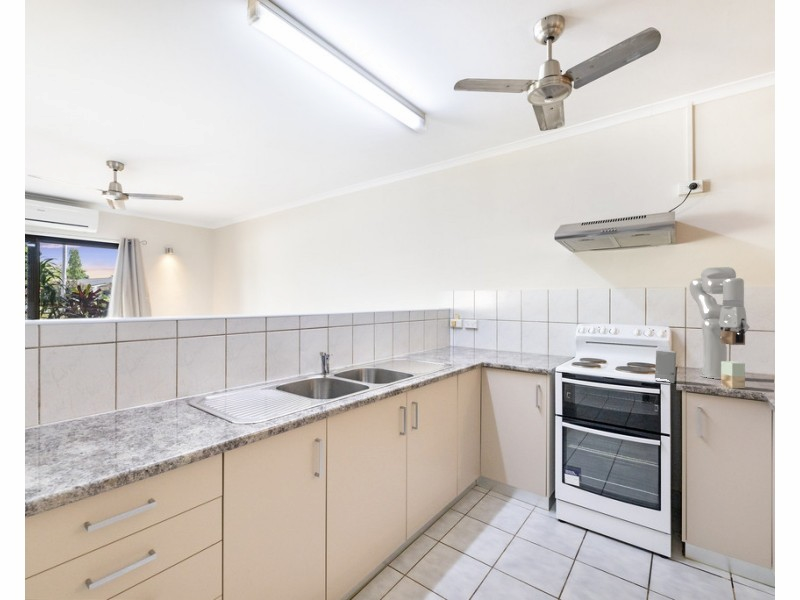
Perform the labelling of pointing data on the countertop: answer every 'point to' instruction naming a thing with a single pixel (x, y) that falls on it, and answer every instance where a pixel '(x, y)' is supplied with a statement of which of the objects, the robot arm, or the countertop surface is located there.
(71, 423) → the countertop surface
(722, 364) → the sage block
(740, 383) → the oak block
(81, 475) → the countertop surface
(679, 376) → the countertop surface
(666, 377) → the skincare box
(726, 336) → the walnut block
